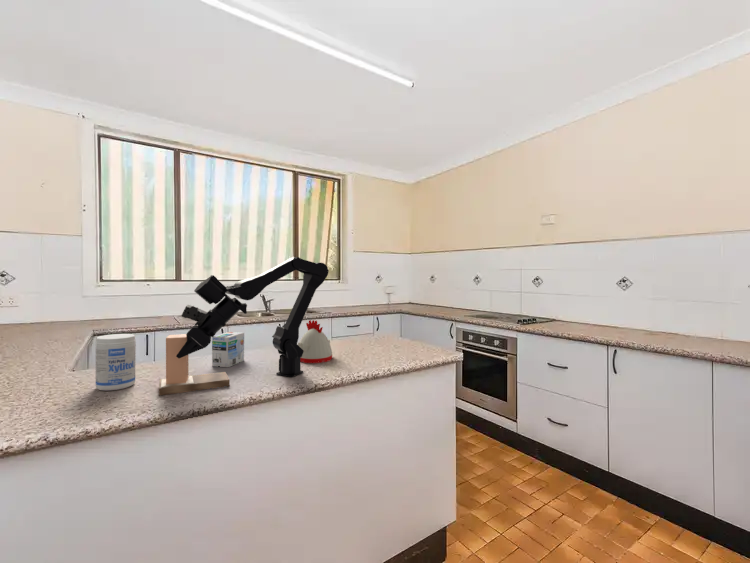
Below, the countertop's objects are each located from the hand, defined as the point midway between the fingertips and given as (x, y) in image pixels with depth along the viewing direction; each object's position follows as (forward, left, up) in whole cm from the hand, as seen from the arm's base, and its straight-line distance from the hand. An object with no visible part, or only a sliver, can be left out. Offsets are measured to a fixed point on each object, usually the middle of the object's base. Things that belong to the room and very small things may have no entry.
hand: (180, 353), depth 106 cm
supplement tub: (+18, +8, -10) cm, 22 cm away
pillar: (0, +1, -8) cm, 8 cm away
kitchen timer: (-13, -47, -10) cm, 50 cm away
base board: (-2, -3, -10) cm, 11 cm away
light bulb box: (+10, -26, -10) cm, 30 cm away
